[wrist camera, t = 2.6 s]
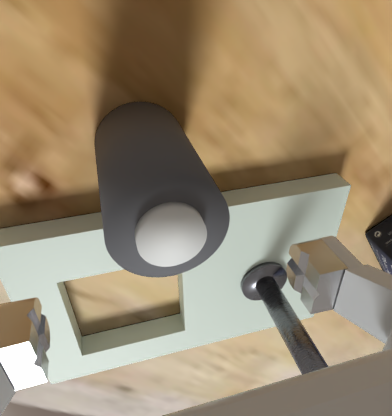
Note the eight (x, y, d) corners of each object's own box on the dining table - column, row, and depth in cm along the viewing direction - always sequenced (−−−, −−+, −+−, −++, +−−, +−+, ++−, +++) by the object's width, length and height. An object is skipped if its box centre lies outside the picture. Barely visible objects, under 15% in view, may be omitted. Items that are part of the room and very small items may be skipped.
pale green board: (-9, 230, 18) (-14, 249, 17) (336, 173, 22) (350, 185, 21) (52, 364, 25) (51, 384, 24) (303, 302, 30) (313, 316, 28)
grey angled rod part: (241, 267, 23) (323, 420, 15) (287, 257, 23) (386, 399, 16) (236, 330, 27) (299, 476, 19) (275, 320, 27) (350, 458, 20)
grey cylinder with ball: (86, 106, 16) (93, 196, 10) (181, 96, 17) (238, 173, 11) (102, 189, 19) (115, 298, 13) (184, 176, 20) (231, 273, 14)
